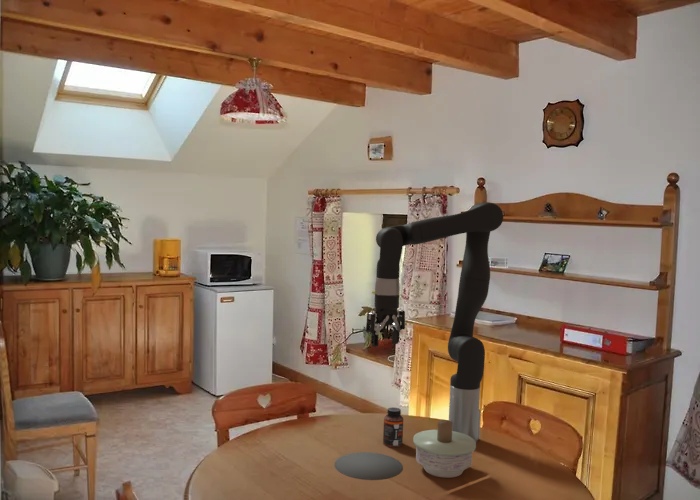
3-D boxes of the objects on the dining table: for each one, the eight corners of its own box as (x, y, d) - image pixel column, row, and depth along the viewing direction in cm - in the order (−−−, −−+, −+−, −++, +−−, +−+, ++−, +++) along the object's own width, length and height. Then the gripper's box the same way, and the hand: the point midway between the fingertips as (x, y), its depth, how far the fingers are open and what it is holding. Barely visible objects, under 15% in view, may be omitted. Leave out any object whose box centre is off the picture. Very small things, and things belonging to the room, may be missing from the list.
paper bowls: (431, 456, 182) (433, 430, 181) (480, 470, 173) (481, 442, 173) (405, 473, 170) (406, 444, 169) (455, 489, 161) (457, 458, 160)
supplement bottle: (401, 450, 186) (402, 413, 185) (381, 448, 187) (382, 411, 186) (403, 443, 192) (405, 407, 191) (384, 441, 193) (385, 405, 192)
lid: (442, 429, 183) (443, 409, 182) (488, 446, 170) (489, 425, 169) (400, 440, 172) (401, 419, 172) (446, 460, 159) (447, 437, 159)
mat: (371, 449, 186) (371, 447, 186) (417, 470, 171) (417, 468, 171) (320, 464, 173) (320, 461, 173) (365, 488, 159) (365, 486, 159)
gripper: (395, 290, 198) (393, 340, 199) (361, 292, 189) (359, 345, 190) (412, 292, 192) (410, 344, 193) (378, 295, 183) (376, 349, 184)
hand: (385, 344), depth 192 cm, fingers open, 8 cm apart
